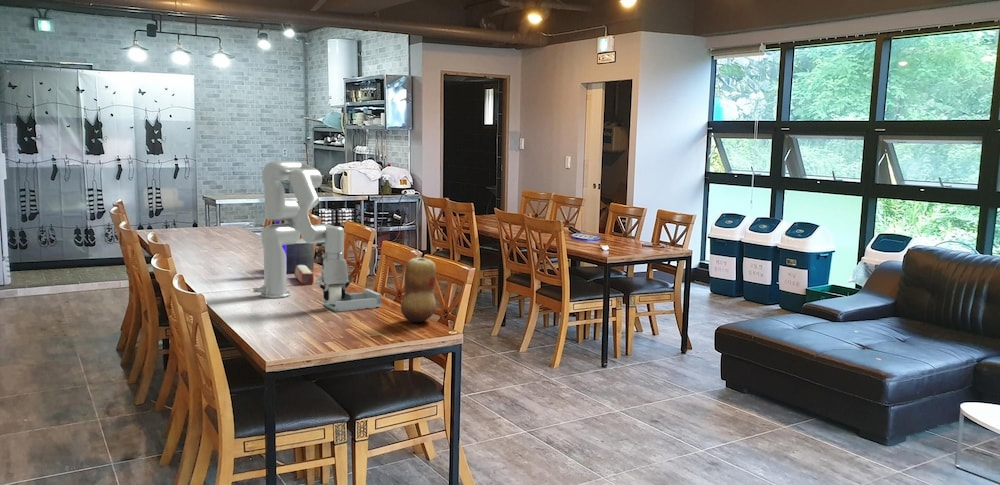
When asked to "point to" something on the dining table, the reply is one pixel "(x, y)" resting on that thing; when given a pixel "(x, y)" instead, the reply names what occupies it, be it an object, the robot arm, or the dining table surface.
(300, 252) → the planter
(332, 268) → the robot arm
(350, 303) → the grey tray
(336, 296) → the jar
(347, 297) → the pusher
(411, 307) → the butternut squash
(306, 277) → the snack package
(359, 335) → the dining table surface
